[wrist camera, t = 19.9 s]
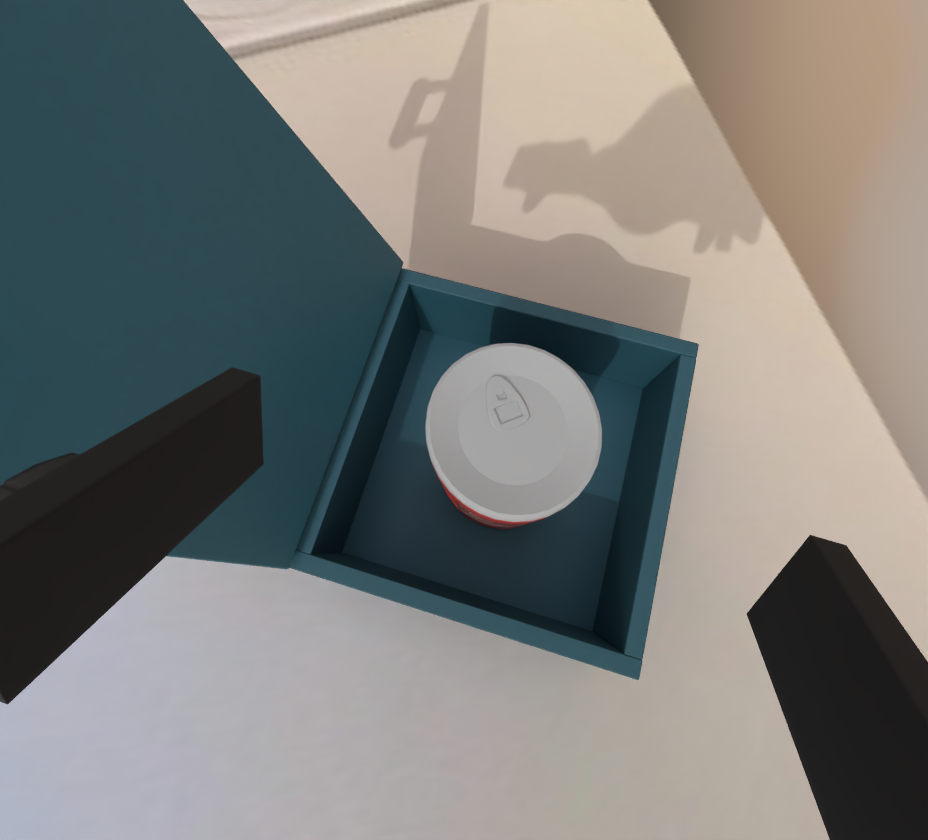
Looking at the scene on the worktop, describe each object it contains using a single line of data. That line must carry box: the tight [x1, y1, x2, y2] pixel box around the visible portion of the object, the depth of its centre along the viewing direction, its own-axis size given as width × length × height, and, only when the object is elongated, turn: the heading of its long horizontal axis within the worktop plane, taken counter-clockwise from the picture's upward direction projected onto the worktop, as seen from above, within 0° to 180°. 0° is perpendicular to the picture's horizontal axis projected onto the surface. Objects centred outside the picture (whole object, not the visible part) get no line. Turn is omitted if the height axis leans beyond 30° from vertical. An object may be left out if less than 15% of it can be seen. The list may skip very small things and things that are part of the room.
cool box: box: [289, 268, 699, 680], centre depth 28 cm, size 18×18×7 cm
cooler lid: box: [0, 0, 403, 569], centre depth 18 cm, size 19×18×5 cm
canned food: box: [425, 343, 602, 529], centre depth 25 cm, size 8×8×11 cm
